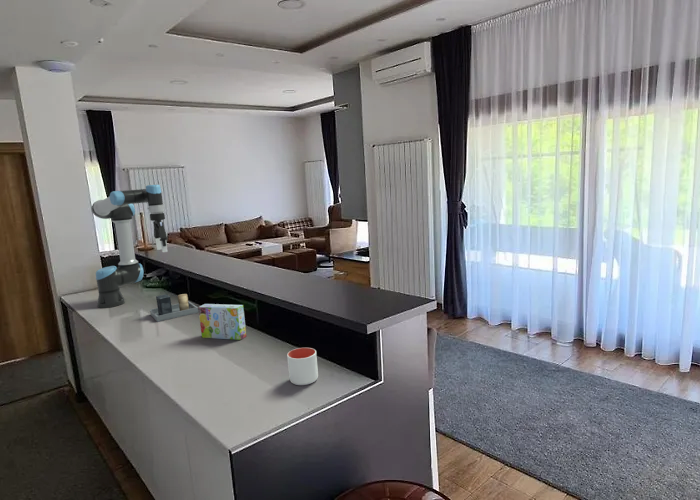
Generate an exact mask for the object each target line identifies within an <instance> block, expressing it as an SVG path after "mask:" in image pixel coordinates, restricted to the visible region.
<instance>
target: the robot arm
mask: <svg viewBox="0 0 700 500" xmlns="http://www.w3.org/2000/svg"><path fill="white" fill-rule="evenodd" d="M145 203H147V206H148V207H147V210H148V211H149V219H150V221H151V222H152V223H153V237H154V239H155V246H156V251H161V252H162V253H168V252H169V251H168V243H167V240H168V237H167V233H166V230H165V225H164V221H163V220H165V219H166V216H165V209H164V208H165V207H164V204H163V203H164V202H163V193H162V188H161V185H160V184H147V185H146V186H145V188H141V189H140V188H139V189H127V190H114V191H111V192H110V193H109V196H108V197H106V198H104V199H98V200H96V201H94V202H93V203H92V205H91V212H92V214H93V215H94V216H95V217H97V218H98V219H103V220H110V219H111V222H113V223H114V226H115V227H114V228H115V233H116V240H117V247H118V254H119V260H120V261H119V262H118V263H117V265H118V267H117V266H115V265H110V266H105V267H102V268H99V269H98V270H96V272H95V280H96V285H97V290H98V298H97V302H96V305H97V308H99V309H106V308H113V307H118V306H121V305H123V304H125V303H126V301H125V297H124V296H123V294H122V292H121V290H120V288H121V286H126V285H130V284H135V283H138V282H141V281H142V280H143V277H144V267H143V265H142V264H141V262H140V263H139V260H137V259H136V254H135V247H134V241H133V233H132V232H133V231H132V225H131V222H132V220H133V217H134V216H135V214H136V208H135V206H134V204H135V205H136V204H145Z"/></svg>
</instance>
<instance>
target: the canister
mask: <svg viewBox="0 0 700 500" xmlns="http://www.w3.org/2000/svg"><path fill="white" fill-rule="evenodd" d="M177 301H178V304H179V309H180V311H182V310H187V309H189V305H188V301H189V297H188V294H187V293H182V294H178V295H177Z"/></svg>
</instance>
